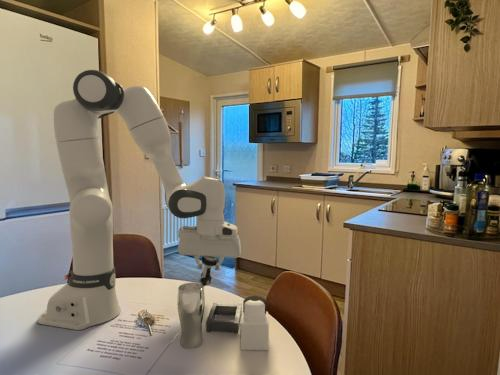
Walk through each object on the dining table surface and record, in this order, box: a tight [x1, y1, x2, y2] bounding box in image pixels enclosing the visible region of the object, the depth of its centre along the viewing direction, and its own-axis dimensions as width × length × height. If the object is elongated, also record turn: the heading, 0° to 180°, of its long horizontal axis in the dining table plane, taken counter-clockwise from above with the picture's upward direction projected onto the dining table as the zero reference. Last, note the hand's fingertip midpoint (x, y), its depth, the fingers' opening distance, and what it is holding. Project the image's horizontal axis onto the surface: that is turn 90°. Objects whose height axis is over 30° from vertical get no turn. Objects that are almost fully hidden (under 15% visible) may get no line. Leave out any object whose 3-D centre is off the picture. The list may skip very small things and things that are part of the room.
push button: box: [198, 256, 219, 287], centre depth 110 cm, size 7×5×10 cm
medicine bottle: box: [239, 295, 270, 352], centre depth 88 cm, size 7×7×12 cm
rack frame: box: [205, 302, 243, 335], centre depth 99 cm, size 9×12×3 cm
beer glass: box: [176, 282, 206, 350], centre depth 88 cm, size 7×7×15 cm
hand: (208, 269), depth 110 cm, fingers closed on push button, 4 cm apart
